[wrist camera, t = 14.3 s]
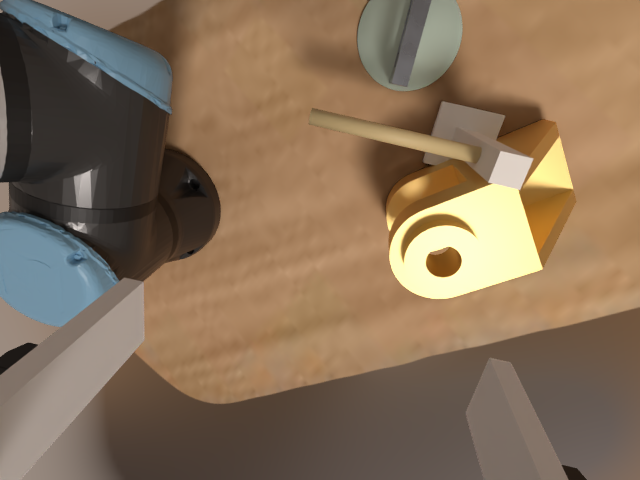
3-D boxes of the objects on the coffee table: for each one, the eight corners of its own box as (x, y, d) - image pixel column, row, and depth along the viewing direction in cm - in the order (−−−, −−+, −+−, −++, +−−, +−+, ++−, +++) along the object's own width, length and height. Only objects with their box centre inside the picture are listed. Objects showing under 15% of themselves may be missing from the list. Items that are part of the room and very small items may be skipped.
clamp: (401, 251, 51) (411, 319, 36) (374, 188, 48) (374, 235, 34) (562, 193, 46) (651, 246, 31) (542, 119, 43) (629, 138, 28)
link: (389, 83, 43) (391, 83, 36) (416, -20, 39) (425, -44, 32) (402, 86, 43) (407, 86, 36) (430, -17, 39) (442, -40, 32)
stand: (322, 137, 47) (292, 166, 31) (334, 76, 44) (309, 72, 28) (479, 174, 46) (537, 225, 30) (502, 114, 43) (580, 134, 27)
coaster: (347, 79, 44) (346, 79, 44) (371, -34, 40) (372, -35, 39) (441, 100, 44) (442, 101, 43) (477, -11, 39) (478, -13, 39)
